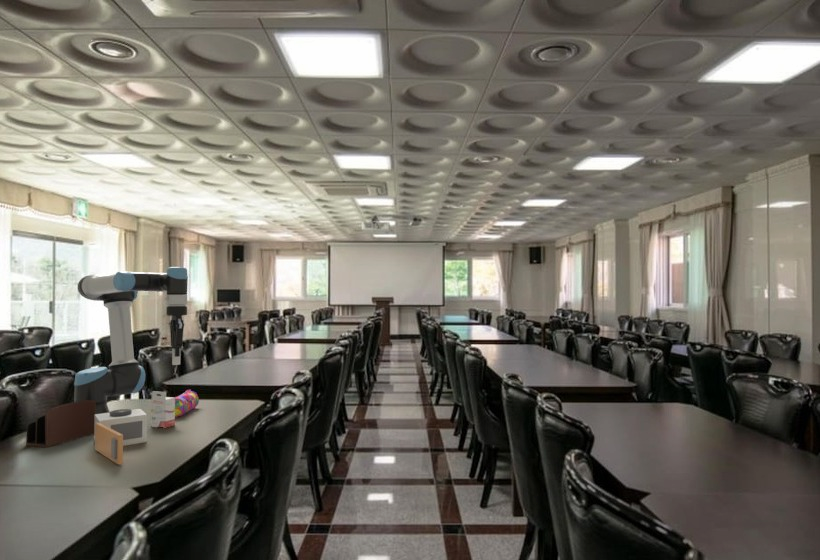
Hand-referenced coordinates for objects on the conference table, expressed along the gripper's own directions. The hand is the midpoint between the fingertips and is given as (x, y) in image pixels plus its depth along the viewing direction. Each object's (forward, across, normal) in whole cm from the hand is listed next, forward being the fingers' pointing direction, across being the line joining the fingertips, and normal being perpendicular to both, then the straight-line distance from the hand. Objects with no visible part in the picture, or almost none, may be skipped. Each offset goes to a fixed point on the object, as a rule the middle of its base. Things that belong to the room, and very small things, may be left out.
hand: (176, 364), depth 197 cm
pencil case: (+27, -33, +11) cm, 44 cm away
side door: (+26, +21, -26) cm, 42 cm away
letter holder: (+27, -16, -36) cm, 48 cm away
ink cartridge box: (+27, -12, -2) cm, 29 cm away
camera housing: (+26, +2, -20) cm, 33 cm away
